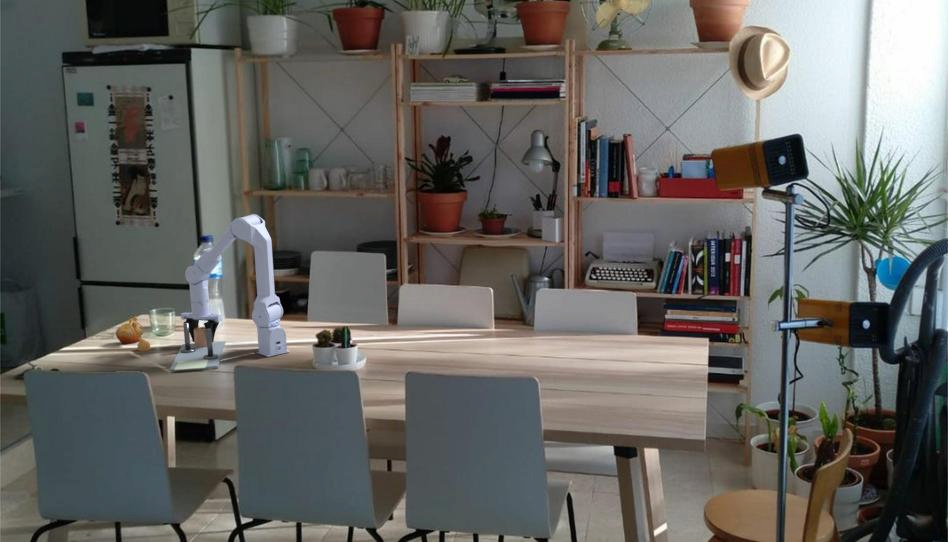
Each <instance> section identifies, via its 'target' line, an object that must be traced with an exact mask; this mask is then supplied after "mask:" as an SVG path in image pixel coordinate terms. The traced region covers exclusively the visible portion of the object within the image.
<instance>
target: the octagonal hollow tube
mask: <svg viewBox="0 0 948 542" xmlns="http://www.w3.org/2000/svg"><path fill="white" fill-rule="evenodd" d="M194 341H195V342H194V343H195V346H197V347H206V346H207V337H206V329H205V326H198V327H197V328H195V329H194Z"/></svg>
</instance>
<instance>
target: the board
mask: <svg viewBox="0 0 948 542" xmlns="http://www.w3.org/2000/svg"><path fill="white" fill-rule="evenodd" d="M226 342H227V341H226V340H225V341H224V340H223V341H214V342H212V346H213V354H217V355H218V358H216V359H212V360H208V362H207V365H206V368H199V369H184V370H174V369H175V367H176V365H177V363H178V361H192V360H205V359H204V358H203V356H205V355H208V350H207V346H206V347H197V346H195V342H192V343H191V342H190V347H191V348H195V351H194V352H191V353H182V352H181V349H184V348H185V343H182V344H181V346H180V348H179V350H178V352H177V354H176V356H175V358H174V360H173V363H172V365H171V366H170V368H169V372H170V373H171V372H173V373H174V372H185V371H202V370H203V371H204V370H215V369H216V370H217V369H219V366H220V364H221V360H222V359H221V357H222V354H223V351H224V349H225V345H226Z"/></svg>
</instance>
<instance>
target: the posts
mask: <svg viewBox="0 0 948 542" xmlns="http://www.w3.org/2000/svg"><path fill="white" fill-rule="evenodd" d="M182 327H183V336H184V344H185V348H184V349H181V352H182V353H191V352H194V351H195V348H191V347H190V343H191V335H190V333H189V323H184V322H183V325H182ZM206 337H207V350H208V355H205V356H203V358H204V359H205V360H207V359H208V360H212V359H216V358H218V355H217V354H213V346H212V333H211V329H206Z"/></svg>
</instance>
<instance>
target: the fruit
mask: <svg viewBox="0 0 948 542" xmlns="http://www.w3.org/2000/svg"><path fill="white" fill-rule="evenodd" d="M137 327H138V328H139V329H140V330H141V331H142V328H140V327H141V326H140V325H138V324H137ZM132 328H133V327H132ZM133 330H134V329H133ZM134 332H135V331H134ZM138 335H139V334H137V333H135V334H133V331H132V330H131V328H130V323H129V322H126V323H123V324H122V325H120V326H119V327H118V328H117V329H116V332H115V336H116V338H117V340H118V341H119V342H120V344H121V345H123V346H126V345H128V344H136V343H137V344H138V343H139V342H140V341H139V339H138V337H137V336H138ZM140 337H141V338H142V335H141V336H140Z"/></svg>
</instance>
